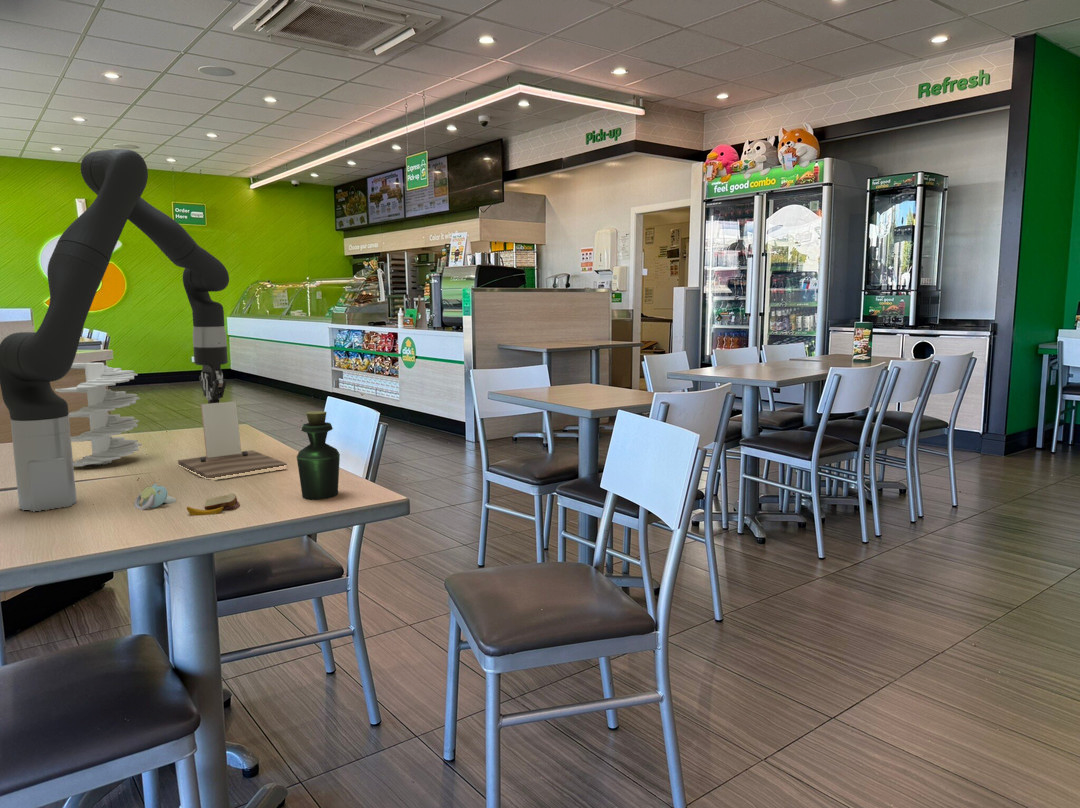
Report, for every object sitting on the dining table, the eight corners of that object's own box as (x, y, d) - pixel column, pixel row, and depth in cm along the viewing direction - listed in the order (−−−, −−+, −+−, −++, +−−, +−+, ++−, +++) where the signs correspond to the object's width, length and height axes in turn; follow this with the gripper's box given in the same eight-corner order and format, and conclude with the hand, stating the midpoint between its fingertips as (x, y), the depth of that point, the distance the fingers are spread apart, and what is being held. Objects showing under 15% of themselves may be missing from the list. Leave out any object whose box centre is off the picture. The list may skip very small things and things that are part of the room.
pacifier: (126, 505, 140) (146, 478, 143) (154, 520, 144) (173, 494, 147) (141, 512, 136) (161, 484, 138) (169, 528, 140) (188, 501, 142)
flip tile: (240, 453, 184) (241, 453, 183) (206, 457, 178) (207, 457, 178) (234, 401, 183) (235, 401, 182) (200, 404, 178) (202, 404, 177)
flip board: (287, 469, 175) (286, 458, 175) (208, 482, 163) (207, 470, 163) (252, 455, 191) (251, 445, 191) (178, 466, 180) (177, 455, 179)
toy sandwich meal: (188, 511, 141) (187, 493, 140) (244, 509, 143) (243, 491, 142) (174, 526, 132) (172, 506, 131) (234, 523, 133) (233, 503, 133)
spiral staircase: (155, 461, 185) (147, 362, 181) (76, 474, 172) (66, 367, 168) (127, 452, 197) (120, 359, 193) (51, 463, 184) (42, 363, 180)
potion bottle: (320, 495, 151) (316, 408, 149) (350, 500, 148) (346, 411, 145) (290, 504, 144) (285, 413, 142) (320, 509, 140) (316, 416, 138)
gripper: (235, 345, 178) (239, 416, 180) (216, 342, 187) (220, 410, 190) (203, 347, 173) (207, 419, 175) (185, 344, 183) (190, 413, 185)
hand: (214, 414), depth 183 cm, fingers closed
